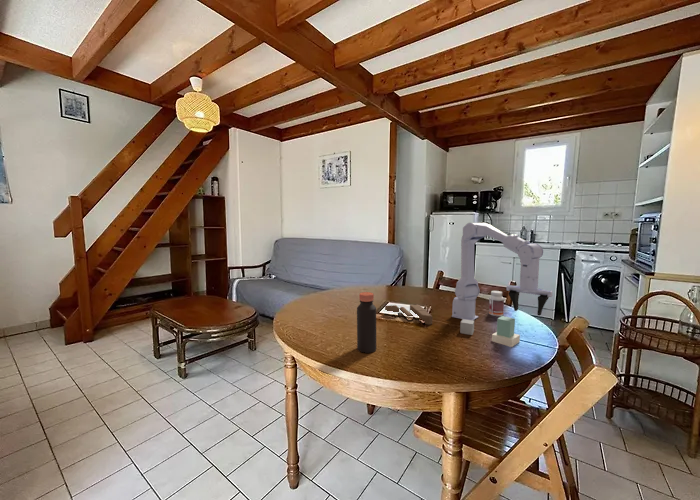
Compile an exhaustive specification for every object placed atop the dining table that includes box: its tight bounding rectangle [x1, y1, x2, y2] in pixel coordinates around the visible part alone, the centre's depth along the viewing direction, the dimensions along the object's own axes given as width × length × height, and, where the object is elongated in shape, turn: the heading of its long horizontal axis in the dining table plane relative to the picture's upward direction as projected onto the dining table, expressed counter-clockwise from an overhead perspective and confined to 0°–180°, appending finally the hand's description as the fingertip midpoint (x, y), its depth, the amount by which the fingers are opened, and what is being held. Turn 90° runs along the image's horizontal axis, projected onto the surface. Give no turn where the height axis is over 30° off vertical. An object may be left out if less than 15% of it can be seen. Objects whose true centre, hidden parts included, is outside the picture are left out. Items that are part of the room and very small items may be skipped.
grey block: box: [459, 319, 475, 336], centre depth 118 cm, size 4×4×4 cm
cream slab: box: [491, 331, 521, 348], centre depth 109 cm, size 7×7×3 cm
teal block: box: [496, 315, 516, 338], centre depth 109 cm, size 4×4×6 cm
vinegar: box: [356, 291, 377, 354], centre depth 103 cm, size 7×7×20 cm
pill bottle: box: [488, 290, 505, 317], centre depth 139 cm, size 6×6×11 cm
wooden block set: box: [384, 303, 433, 326], centre depth 135 cm, size 17×6×18 cm
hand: (527, 312), depth 109 cm, fingers open, 7 cm apart
